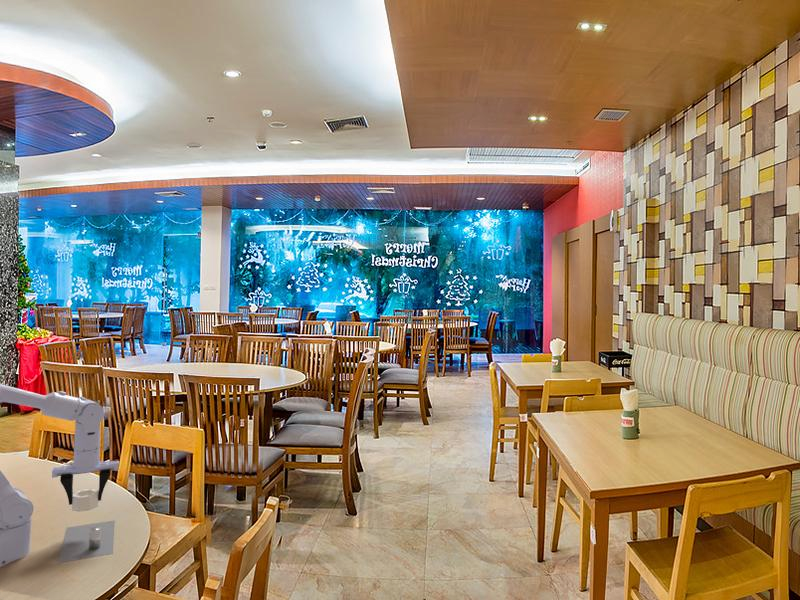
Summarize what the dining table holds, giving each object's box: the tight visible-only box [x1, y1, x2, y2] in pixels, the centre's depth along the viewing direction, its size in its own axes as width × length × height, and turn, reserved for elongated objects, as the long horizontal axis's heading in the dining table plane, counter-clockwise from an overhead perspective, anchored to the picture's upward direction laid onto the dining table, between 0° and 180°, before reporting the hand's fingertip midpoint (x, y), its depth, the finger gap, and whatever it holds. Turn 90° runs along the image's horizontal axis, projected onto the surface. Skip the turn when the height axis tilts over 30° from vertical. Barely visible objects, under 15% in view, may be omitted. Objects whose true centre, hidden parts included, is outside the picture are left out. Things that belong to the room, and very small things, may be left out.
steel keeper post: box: [89, 527, 101, 550], centre depth 126 cm, size 2×2×4 cm
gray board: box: [57, 520, 116, 564], centre depth 130 cm, size 20×11×1 cm, turn 28°
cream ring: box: [71, 488, 99, 513], centre depth 133 cm, size 6×6×4 cm
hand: (85, 501), depth 133 cm, fingers closed on cream ring, 6 cm apart
